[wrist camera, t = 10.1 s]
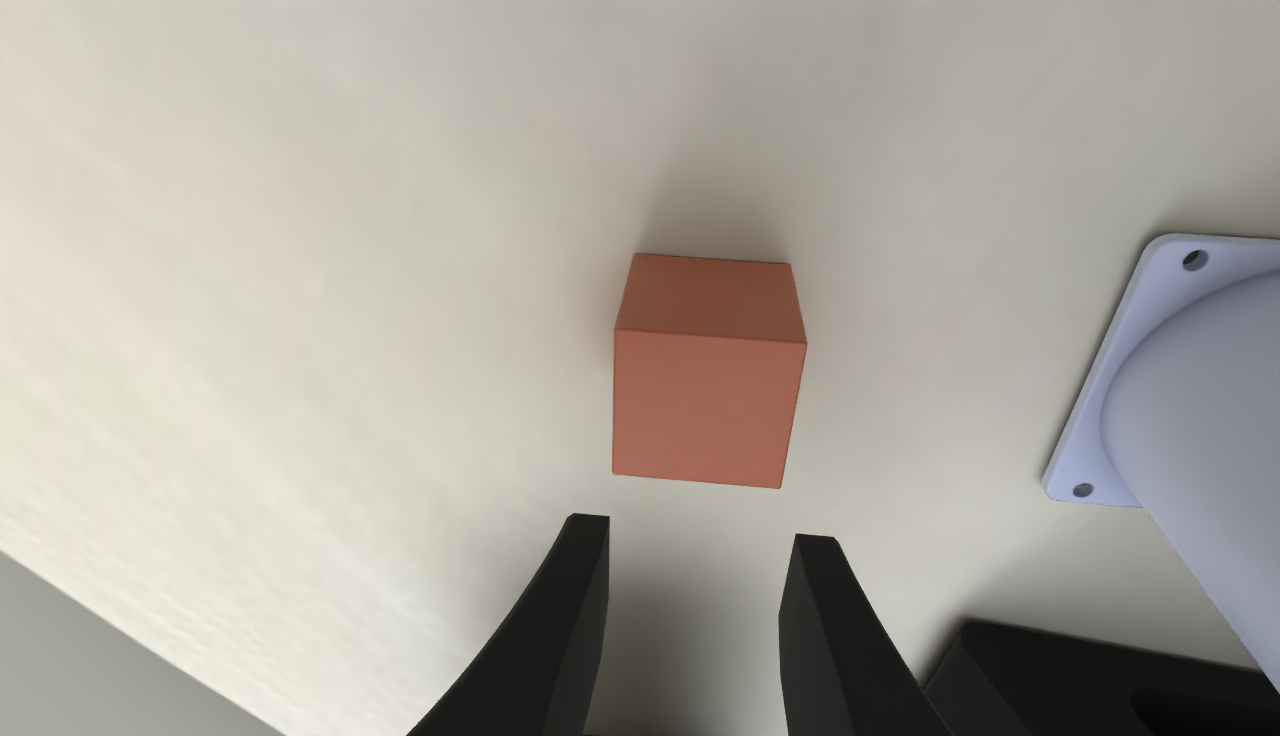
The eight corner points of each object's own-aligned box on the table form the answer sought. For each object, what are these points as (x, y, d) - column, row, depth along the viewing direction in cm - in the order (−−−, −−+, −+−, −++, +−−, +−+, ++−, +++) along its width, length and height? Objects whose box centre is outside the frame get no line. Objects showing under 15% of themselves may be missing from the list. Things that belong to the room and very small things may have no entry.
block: (791, 263, 18) (808, 343, 14) (770, 394, 20) (781, 490, 17) (633, 252, 18) (614, 328, 15) (629, 383, 20) (611, 475, 17)
